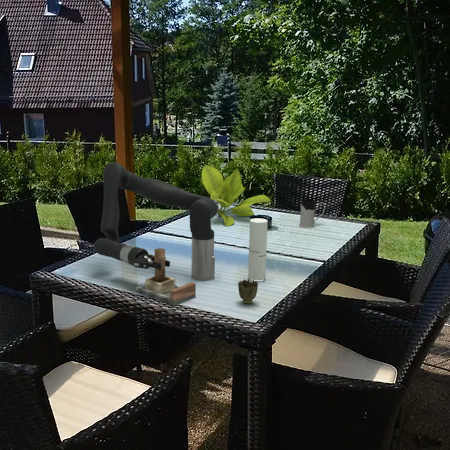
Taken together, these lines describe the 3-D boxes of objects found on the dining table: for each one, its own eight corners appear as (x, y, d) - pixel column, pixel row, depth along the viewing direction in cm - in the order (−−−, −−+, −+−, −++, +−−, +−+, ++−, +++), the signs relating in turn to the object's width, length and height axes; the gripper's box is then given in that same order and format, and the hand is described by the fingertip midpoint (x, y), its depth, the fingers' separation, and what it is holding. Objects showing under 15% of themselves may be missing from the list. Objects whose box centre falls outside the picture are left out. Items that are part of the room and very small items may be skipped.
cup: (234, 304, 207) (235, 284, 205) (241, 298, 214) (241, 278, 212) (253, 308, 204) (254, 287, 202) (260, 301, 211) (260, 281, 209)
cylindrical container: (247, 275, 238) (249, 218, 232) (264, 276, 238) (267, 218, 232) (248, 281, 231) (250, 222, 225) (265, 281, 231) (268, 222, 225)
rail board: (136, 292, 217) (136, 279, 215) (158, 284, 225) (157, 271, 224) (174, 306, 205) (174, 291, 203) (195, 297, 213) (195, 283, 212)
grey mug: (297, 224, 324) (298, 198, 320) (321, 224, 326) (323, 198, 322) (301, 228, 316) (302, 202, 312) (325, 228, 317) (327, 202, 314)
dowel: (164, 282, 218) (164, 248, 215) (165, 286, 215) (165, 251, 211) (154, 283, 218) (154, 248, 214) (155, 286, 214) (154, 251, 210)
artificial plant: (200, 238, 315) (224, 200, 298) (178, 185, 341) (199, 147, 323) (260, 242, 338) (285, 207, 321) (235, 192, 364) (257, 157, 346)
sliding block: (145, 289, 216) (145, 279, 215) (160, 283, 222) (160, 274, 221) (160, 294, 211) (160, 284, 210) (175, 288, 217) (175, 278, 216)
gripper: (120, 250, 216) (151, 260, 206) (147, 243, 227) (178, 251, 217) (120, 269, 218) (151, 279, 208) (147, 260, 229) (178, 270, 219)
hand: (165, 265), depth 212 cm, fingers closed on dowel, 4 cm apart
